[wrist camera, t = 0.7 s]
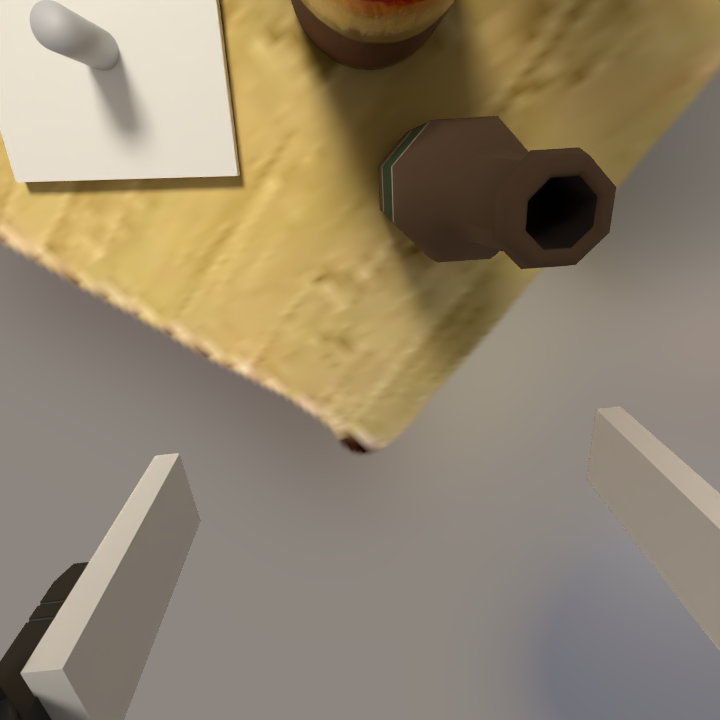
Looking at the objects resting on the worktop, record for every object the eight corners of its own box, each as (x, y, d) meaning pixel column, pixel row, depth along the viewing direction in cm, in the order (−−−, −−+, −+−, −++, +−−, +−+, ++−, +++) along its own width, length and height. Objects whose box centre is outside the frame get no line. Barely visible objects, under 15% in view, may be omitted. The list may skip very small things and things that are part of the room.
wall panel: (-85, -191, 26) (-209, -296, 20) (196, -192, 27) (155, -295, 21) (24, 181, 34) (-42, 185, 28) (240, 175, 35) (219, 177, 29)
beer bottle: (398, 252, 37) (484, 376, 15) (356, 158, 35) (388, 146, 12) (487, 208, 36) (717, 273, 14) (451, 108, 33) (671, -4, 11)
